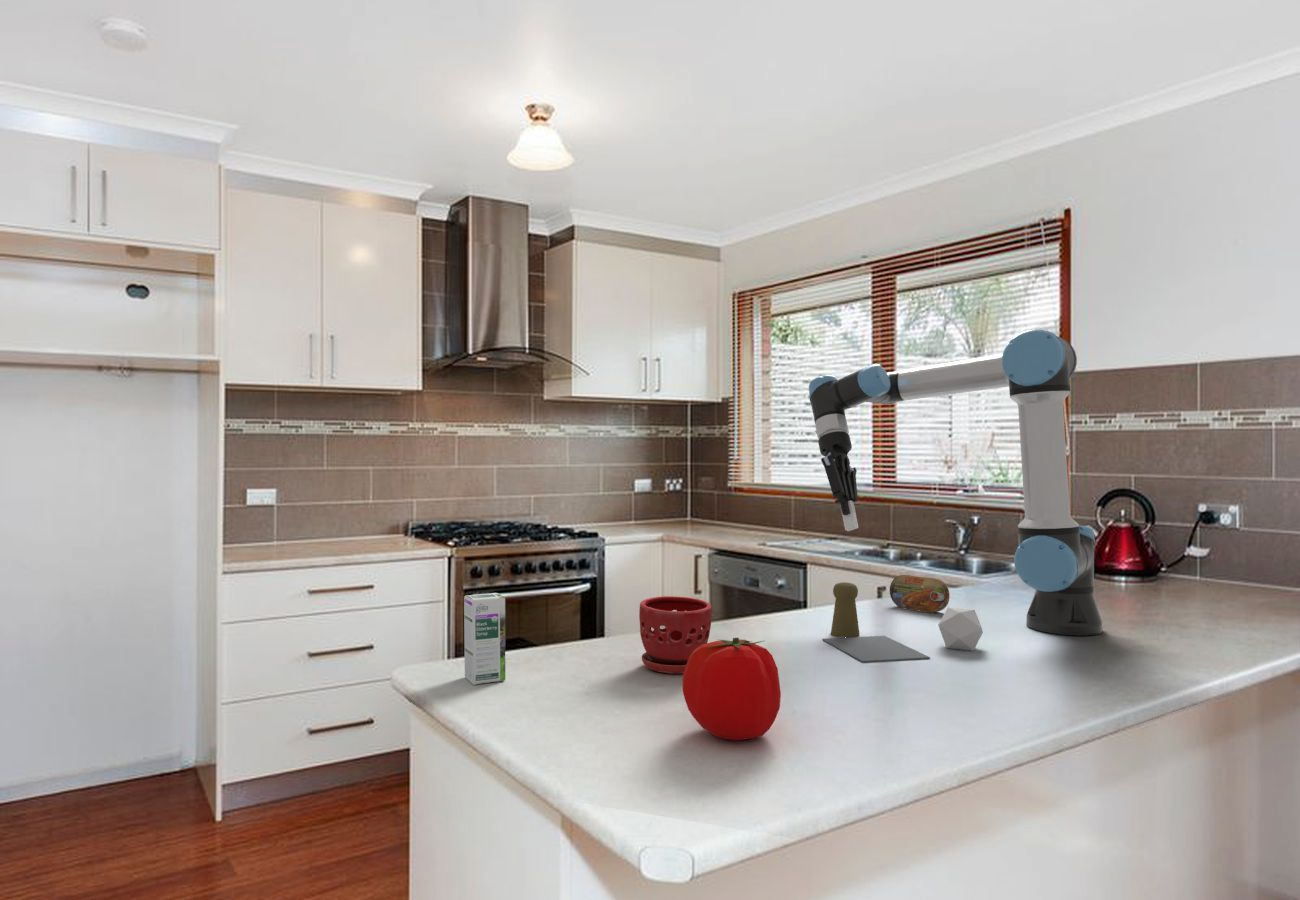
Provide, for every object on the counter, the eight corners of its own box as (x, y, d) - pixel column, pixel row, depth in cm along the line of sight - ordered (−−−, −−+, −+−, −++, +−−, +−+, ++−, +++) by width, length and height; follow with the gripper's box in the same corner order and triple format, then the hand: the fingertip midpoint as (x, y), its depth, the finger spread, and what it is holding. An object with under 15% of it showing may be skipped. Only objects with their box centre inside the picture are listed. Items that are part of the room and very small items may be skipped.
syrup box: (472, 685, 141) (473, 599, 141) (463, 676, 147) (463, 593, 146) (505, 681, 144) (506, 596, 144) (495, 672, 149) (495, 591, 149)
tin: (888, 606, 211) (889, 572, 211) (895, 604, 214) (895, 571, 214) (944, 615, 200) (945, 580, 200) (951, 613, 203) (951, 578, 202)
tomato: (779, 756, 110) (780, 652, 110) (675, 749, 113) (675, 647, 113) (781, 718, 126) (782, 626, 126) (690, 712, 128) (690, 622, 128)
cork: (864, 634, 180) (865, 583, 180) (850, 639, 176) (851, 586, 176) (839, 629, 185) (840, 579, 184) (825, 634, 180) (825, 583, 180)
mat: (822, 640, 175) (822, 638, 175) (884, 637, 178) (884, 635, 178) (862, 662, 157) (862, 660, 157) (930, 658, 160) (930, 657, 160)
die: (986, 648, 171) (960, 606, 175) (997, 636, 163) (971, 592, 168) (950, 664, 170) (925, 621, 175) (960, 652, 162) (934, 608, 167)
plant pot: (628, 673, 149) (628, 606, 149) (653, 656, 161) (653, 593, 161) (699, 681, 145) (699, 611, 144) (719, 662, 157) (719, 598, 157)
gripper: (833, 449, 209) (851, 539, 199) (805, 434, 200) (823, 528, 190) (860, 438, 205) (879, 530, 195) (833, 423, 196) (852, 518, 186)
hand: (851, 528), depth 193 cm, fingers closed
